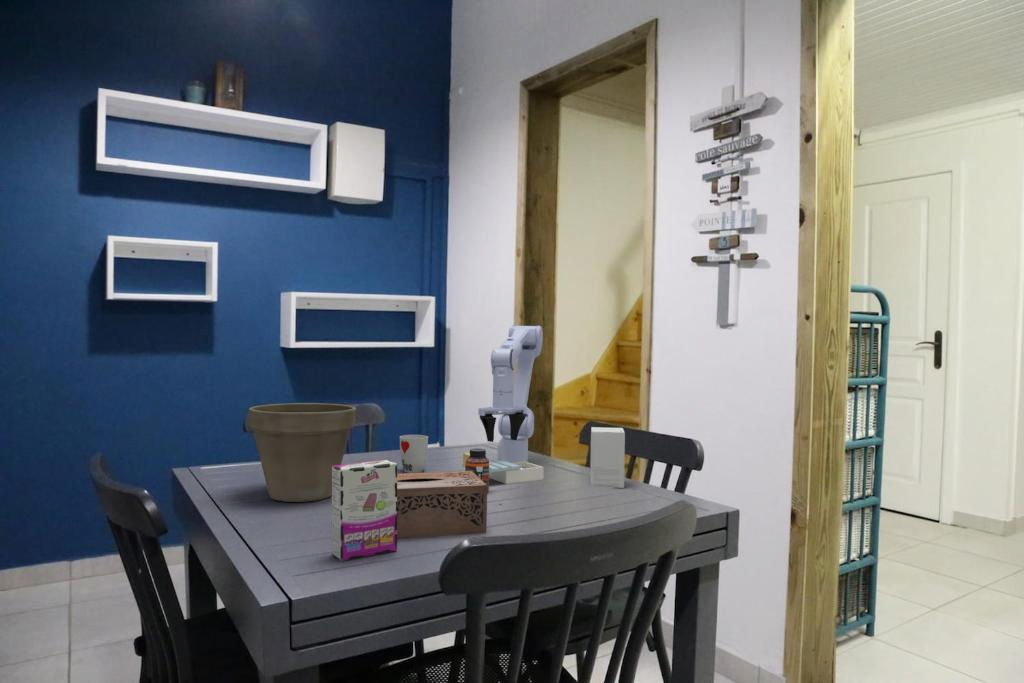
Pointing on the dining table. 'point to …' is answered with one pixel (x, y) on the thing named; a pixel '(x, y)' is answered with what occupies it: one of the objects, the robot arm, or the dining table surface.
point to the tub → (519, 474)
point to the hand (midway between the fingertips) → (502, 440)
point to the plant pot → (301, 447)
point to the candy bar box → (364, 509)
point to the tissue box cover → (440, 504)
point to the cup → (413, 452)
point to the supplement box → (607, 456)
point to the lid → (495, 464)
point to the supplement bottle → (478, 464)
